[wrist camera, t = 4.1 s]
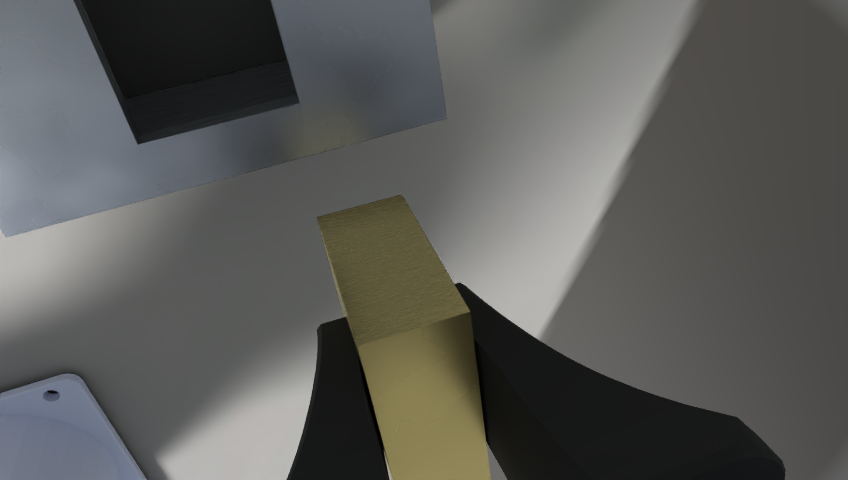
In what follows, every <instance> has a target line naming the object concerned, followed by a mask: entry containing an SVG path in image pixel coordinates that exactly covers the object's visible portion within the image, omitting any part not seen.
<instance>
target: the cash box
mask: <svg viewBox="0 0 848 480" xmlns="http://www.w3.org/2000/svg"><path fill="white" fill-rule="evenodd" d="M270 1H271V5H272V8H273V12H274V15H275V19H276V22H277V26H278V30H279V33H280V37H281V40H282V44H283V48H284V51H285V55H286V58H287V60H283V61H279V62H275V63H271V64H266V65H262V66H258V67H254V68H250V69H246V70H242V71H238V72H234V73H229V74H225V75H221V76H217V77H213V78H209V79H205V80H201V81H197V82H192V83H188V84H184V85H180V86H176V87H172V88H168V89H164V90H160V91H155V92H151V93H147V94H143V95H139V96H135V97H131V98H127V99H124V97H123V95H122V93H121V90H120V88H119V86H118V83H117V81H116V79H115V77H114V74H113V72H112V70H111V67H110V65H109V63H108V61H107V58H106V56H105V54H104V52H103V49H102V47H101V45H100V42H99V40H98V38H97V36H96V33H95V31H94V29H93V26H92V24H91V22H90V20H89V17H88V15H87V13H86V11H85V8H84V6H83V4H82V1H81V0H0V229H1V230H2V232H3V234H4V235H5V237H10V236H13V235H17V234H21V233H24V232H28V231H32V230H36V229H39V228H43V227H47V226H50V225H54V224H58V223H61V222H65V221H69V220H73V219H76V218H80V217H84V216H87V215H91V214H95V213H99V212H102V211H106V210H110V209H113V208H117V207H121V206H124V205H128V204H132V203H136V202H139V201H143V200H147V199H150V198H154V197H158V196H162V195H165V194H169V193H173V192H176V191H180V190H184V189H187V188H191V187H195V186H199V185H202V184H206V183H210V182H213V181H217V180H221V179H225V178H228V177H232V176H236V175H239V174H243V173H247V172H250V171H254V170H258V169H262V168H265V167H269V166H273V165H276V164H280V163H284V162H288V161H291V160H295V159H299V158H302V157H306V156H310V155H313V154H317V153H321V152H325V151H328V150H332V149H336V148H339V147H343V146H347V145H351V144H354V143H358V142H362V141H365V140H369V139H373V138H376V137H380V136H384V135H388V134H391V133H395V132H399V131H402V130H406V129H410V128H414V127H417V126H421V125H425V124H428V123H432V122H436V121H440V120H443V119H447V116H446V109H445V102H444V95H443V88H442V81H441V75H440V68H439V61H438V54H437V47H436V40H435V33H434V26H433V19H432V12H431V5H430V0H270Z"/></svg>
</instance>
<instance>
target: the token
mask: <svg viewBox="0 0 848 480" xmlns="http://www.w3.org/2000/svg"><path fill="white" fill-rule="evenodd" d="M317 220H318V224H319V228H320V231H321V235H322V239H323V243H324V246H325V250H326V254H327V257H328V261H329V265H330V268H331V272H332V276H333V279H334V283H335V287H336V290H337V294H338V298H339V302H340V305H341V309H342V313H343V316H344V317H346V319H347V322H348V325H349V328H350V331H351V334H352V337H353V340H354V343H355V346H356V349H357V352H358V356H359V360H360V363H361V367H362V371H363V375H364V378H365V382H366V386H367V390H368V393H369V397H370V401H371V405H372V408H373V412H374V416H375V420H376V423H377V427H378V431H379V435H380V438H381V442H382V446H383V450H384V455H385V460H386V464H387V467H388V471H389V474H390V477H391V480H491V478H490V470H489V462H488V453H487V445H486V437H485V429H484V420H483V412H482V404H481V396H480V388H479V379H478V371H477V363H476V355H475V346H474V338H473V330H472V322H471V313H470V310H469V309H468V307H467V305H466V303H465V302H464V300H463V298H462V297H461V295H460V293H459V291H458V290H457V288H456V286H455V285H454V283H453V281H452V279H451V278H450V276H449V274H448V273H447V271H446V269H445V268H444V266H443V264H442V262H441V261H440V259H439V257H438V256H437V254H436V252H435V250H434V249H433V247H432V245H431V244H430V242H429V240H428V238H427V237H426V235H425V233H424V232H423V230H422V228H421V226H420V225H419V223H418V221H417V220H416V218H415V216H414V214H413V213H412V211H411V209H410V208H409V206H408V204H407V203H406V201H405V199H404V197H403V196H402V195H398V196H394V197H391V198H387V199H383V200H380V201H376V202H372V203H368V204H365V205H361V206H357V207H354V208H350V209H346V210H342V211H339V212H335V213H331V214H328V215H324V216H320V217H317Z"/></svg>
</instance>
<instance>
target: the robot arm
mask: <svg viewBox="0 0 848 480" xmlns="http://www.w3.org/2000/svg"><path fill="white" fill-rule="evenodd" d="M454 285H455V286H456V288H457V290H458V291H459V293H460V295H461V297H462V298H463V300H464V302H465V303H466V305H467V307H468V309H469V310H470V313H471V322H472V330H473V338H474V346H475V355H476V363H477V371H478V379H479V388H480V396H481V404H482V412H483V420H484V429H485V437H486V442H487V444H488V445H489V447H490V449H491V451H492V452H493V454H494V456H495V458H496V460H497V461H498V463H499V465H500V467H501V468H502V470H503V472H504V474H505V476H506V478H507V480H785V468H784V465H783V462H782V460H781V459H780V458H779V457H778V456H777V455H776V454H775V453H774V452H773V451H772V450H771V449H770V448H769V446H768V445H767V444H766V443H765V442H764V441H763V440H762V439H761V438H760V437H759V436H758V435H757V434H756V433H755V432H753V431H752V430H751V429H750V428H749V427H748V426H746V425H745V424H744V423H743V422H742V421H741V420H740V419H739V418H737V417H734V416H730V415H726V414H722V413H718V412H714V411H710V410H705V409H701V408H697V407H693V406H689V405H686V404H682V403H679V402H676V401H672V400H669V399H666V398H663V397H659V396H657V395H654V394H651V393H648V392H645V391H642V390H639V389H637V388H634V387H631V386H629V385H626V384H624V383H622V382H619V381H616V380H614V379H611V378H609V377H607V376H604V375H602V374H600V373H598V372H595V371H593V370H591V369H589V368H587V367H585V366H583V365H581V364H579V363H577V362H575V361H574V360H571V359H570V358H568V357H566V356H564V355H563V354H561V353H559V352H557V351H556V350H554V349H552V348H551V347H549V346H547V345H546V344H544V343H542V342H541V341H539V340H538V339H536V338H535V337H533V336H531V335H530V334H528V333H527V332H525V331H524V330H523V329H521V328H520V327H518V326H517V325H515V324H514V323H513V322H511V321H510V320H508V319H507V318H505V317H504V316H503V315H501V314H500V313H499V312H497V311H496V310H495V309H493V308H492V307H491V306H490V305H488V304H487V303H486V302H484V301H483V300H482V299H481V298H479V297H478V296H477V295H476V294H475V293H473V292H472V291H471V290H470V289H469V288H467V287H466V286H465V285H463V284H461V283H457V284H454ZM317 335H318V352H317V363H316V372H315V378H314V384H313V390H312V396H311V401H310V405H309V409H308V413H307V417H306V421H305V425H304V429H303V433H302V436H301V440H300V443H299V446H298V450H297V453H296V456H295V458H294V461H293V464H292V467H291V470H290V473H289V475H288V478H287V480H389V475H388V470H387V465H386V460H385V455H384V450H383V446H382V442H381V438H380V435H379V431H378V427H377V423H376V420H375V416H374V412H373V408H372V405H371V401H370V397H369V393H368V390H367V386H366V382H365V378H364V375H363V371H362V367H361V363H360V360H359V356H358V352H357V349H356V346H355V343H354V340H353V337H352V334H351V331H350V328H349V325H348V322H347V319H346V317H344V318H340V319H337V320H334V321H330V322H327V323H324V324H321V325H320V326H319V328H318V329H317ZM48 390H54V391H57V392H58V393H56V394H51V393H48V392H47V391H48ZM0 480H147V479H146V478H145V476H144V474H143V473H142V471H141V470H140V468H139V467H138V465H137V464H136V462H135V460H134V459H133V457H132V456H131V454H130V453H129V451H128V450H127V448H126V446H125V445H124V443H123V442H122V440H121V439H120V437H119V436H118V434H117V432H116V431H115V429H114V428H113V426H112V425H111V423H110V422H109V420H108V418H107V417H106V415H105V414H104V412H103V411H102V409H101V408H100V406H99V405H98V403H97V401H96V400H95V398H94V397H93V395H92V394H91V392H90V391H89V389H88V387H87V386H86V384H85V383H84V381H83V380H82V379H81V378H80V377H79V376H77V375H75V374H68V373H67V374H61V375H58V376H55V377H51V378H48V379H45V380H42V381H38V382H35V383H32V384H29V385H25V386H22V387H19V388H16V389H12V390H9V391H6V392H3V393H0Z"/></svg>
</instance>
